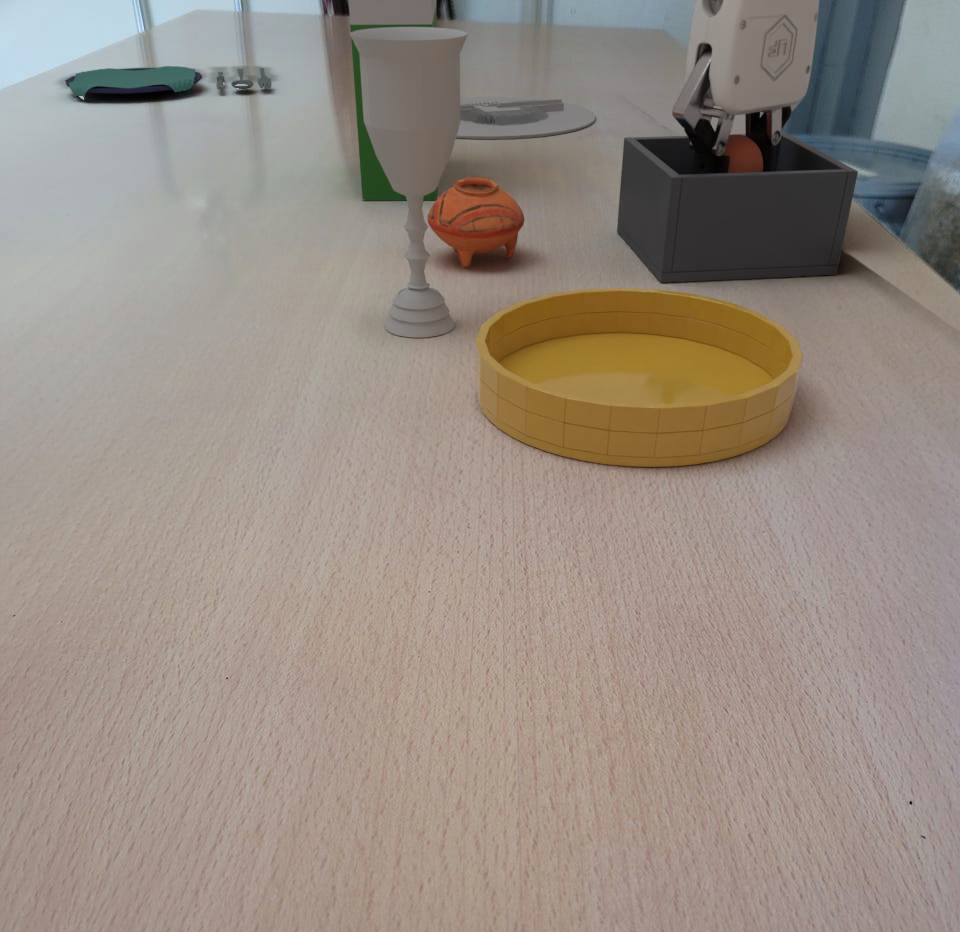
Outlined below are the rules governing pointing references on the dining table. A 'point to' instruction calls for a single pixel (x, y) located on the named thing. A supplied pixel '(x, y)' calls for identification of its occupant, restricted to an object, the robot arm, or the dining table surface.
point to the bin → (733, 212)
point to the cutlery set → (148, 80)
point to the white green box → (369, 7)
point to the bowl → (636, 376)
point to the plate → (519, 118)
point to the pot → (476, 218)
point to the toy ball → (743, 155)
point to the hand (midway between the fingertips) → (727, 198)
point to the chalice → (412, 143)
